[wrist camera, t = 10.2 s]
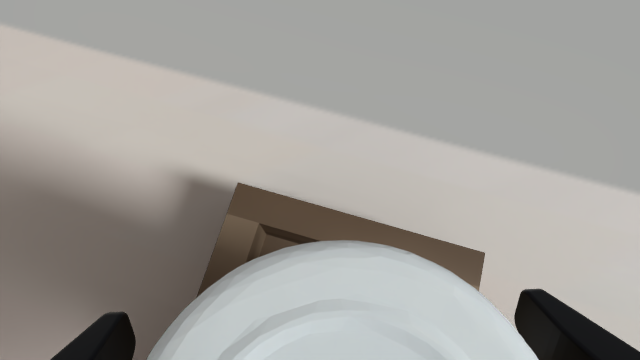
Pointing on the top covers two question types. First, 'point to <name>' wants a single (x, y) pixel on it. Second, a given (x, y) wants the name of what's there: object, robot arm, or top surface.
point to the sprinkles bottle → (341, 311)
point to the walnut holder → (317, 235)
